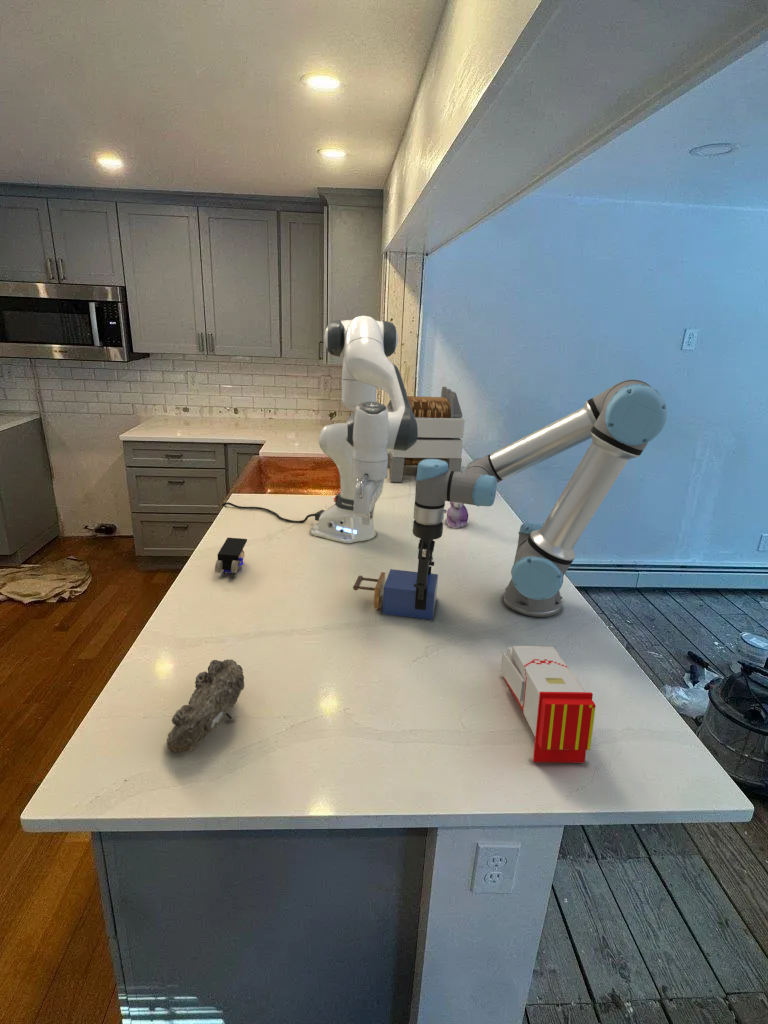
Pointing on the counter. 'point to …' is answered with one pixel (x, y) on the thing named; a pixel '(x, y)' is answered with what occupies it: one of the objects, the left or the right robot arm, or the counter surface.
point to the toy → (550, 702)
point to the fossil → (206, 705)
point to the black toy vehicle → (230, 556)
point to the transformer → (432, 433)
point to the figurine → (457, 515)
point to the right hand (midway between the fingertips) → (422, 598)
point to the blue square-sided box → (408, 594)
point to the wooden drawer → (378, 589)
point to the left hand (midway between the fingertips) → (367, 521)
